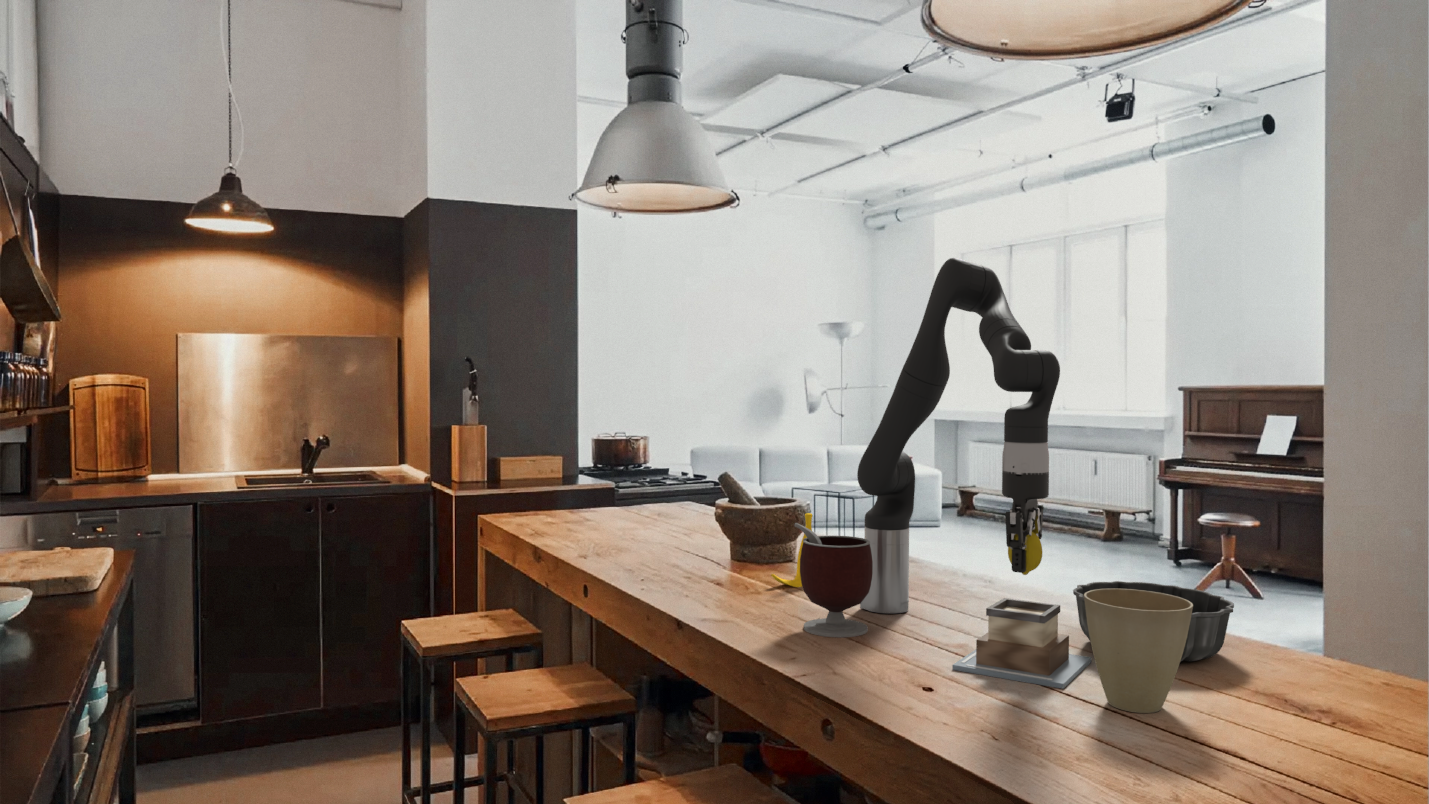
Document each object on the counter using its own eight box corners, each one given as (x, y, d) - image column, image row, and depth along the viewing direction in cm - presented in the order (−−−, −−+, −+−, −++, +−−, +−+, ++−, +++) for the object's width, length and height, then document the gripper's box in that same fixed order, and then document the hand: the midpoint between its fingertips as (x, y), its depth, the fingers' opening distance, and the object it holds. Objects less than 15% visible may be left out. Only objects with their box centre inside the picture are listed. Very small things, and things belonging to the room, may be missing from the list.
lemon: (1044, 579, 165) (1044, 530, 165) (1009, 577, 167) (1009, 529, 166) (1039, 572, 171) (1040, 525, 171) (1006, 571, 172) (1006, 524, 172)
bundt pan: (1221, 639, 187) (1222, 586, 187) (1246, 679, 162) (1247, 617, 162) (1071, 627, 196) (1072, 576, 196) (1073, 663, 171) (1074, 605, 171)
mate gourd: (880, 625, 196) (881, 523, 196) (860, 641, 184) (861, 533, 183) (805, 616, 203) (806, 518, 202) (781, 632, 190) (781, 527, 190)
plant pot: (1137, 728, 139) (1139, 614, 139) (1060, 696, 153) (1062, 592, 152) (1214, 714, 145) (1216, 604, 145) (1134, 685, 159) (1135, 585, 158)
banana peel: (801, 574, 247) (802, 507, 247) (854, 588, 232) (854, 516, 231) (747, 582, 238) (748, 511, 238) (798, 596, 222) (798, 521, 222)
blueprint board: (952, 669, 166) (952, 664, 166) (987, 645, 181) (987, 640, 181) (1063, 688, 156) (1063, 683, 156) (1091, 661, 171) (1091, 656, 171)
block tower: (976, 663, 167) (976, 608, 167) (998, 647, 177) (999, 595, 177) (1049, 675, 161) (1050, 618, 160) (1068, 658, 171) (1069, 604, 170)
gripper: (1016, 464, 176) (1014, 560, 177) (989, 471, 164) (988, 573, 165) (1059, 467, 172) (1058, 564, 173) (1035, 473, 160) (1034, 578, 161)
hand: (1024, 568), depth 169 cm, fingers closed on lemon, 5 cm apart
